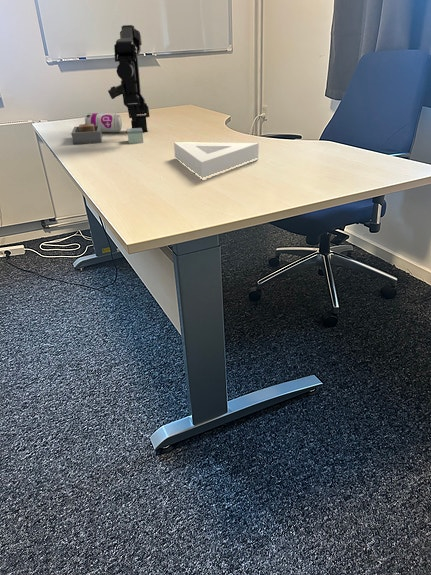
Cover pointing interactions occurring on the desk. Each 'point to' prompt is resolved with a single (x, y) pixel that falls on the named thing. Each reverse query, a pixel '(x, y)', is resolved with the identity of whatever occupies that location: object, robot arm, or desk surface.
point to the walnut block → (86, 127)
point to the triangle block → (214, 155)
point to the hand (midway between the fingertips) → (133, 119)
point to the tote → (87, 136)
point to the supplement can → (105, 121)
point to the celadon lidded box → (135, 135)
